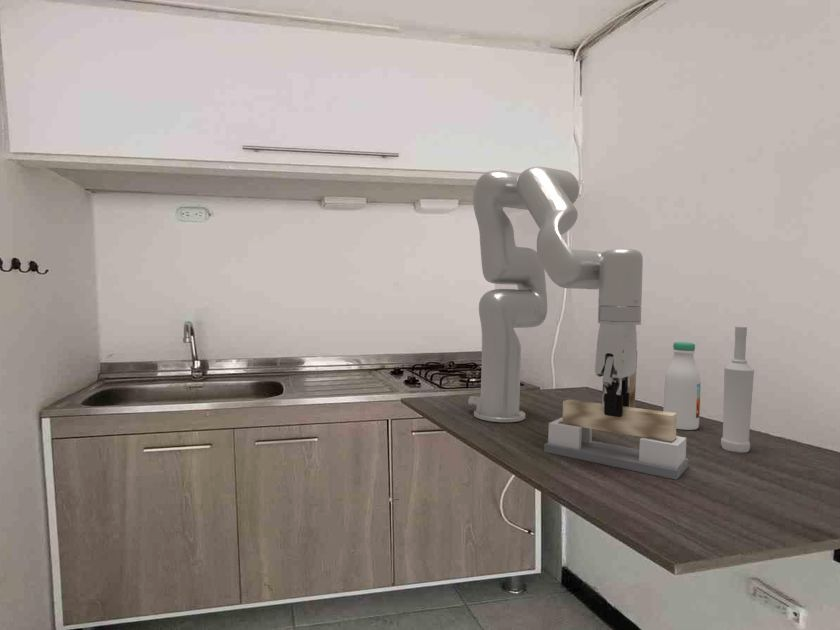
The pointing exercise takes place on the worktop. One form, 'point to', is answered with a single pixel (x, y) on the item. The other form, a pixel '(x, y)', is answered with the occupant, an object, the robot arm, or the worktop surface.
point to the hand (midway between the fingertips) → (616, 413)
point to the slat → (621, 420)
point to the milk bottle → (683, 387)
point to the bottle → (737, 398)
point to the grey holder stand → (619, 451)
